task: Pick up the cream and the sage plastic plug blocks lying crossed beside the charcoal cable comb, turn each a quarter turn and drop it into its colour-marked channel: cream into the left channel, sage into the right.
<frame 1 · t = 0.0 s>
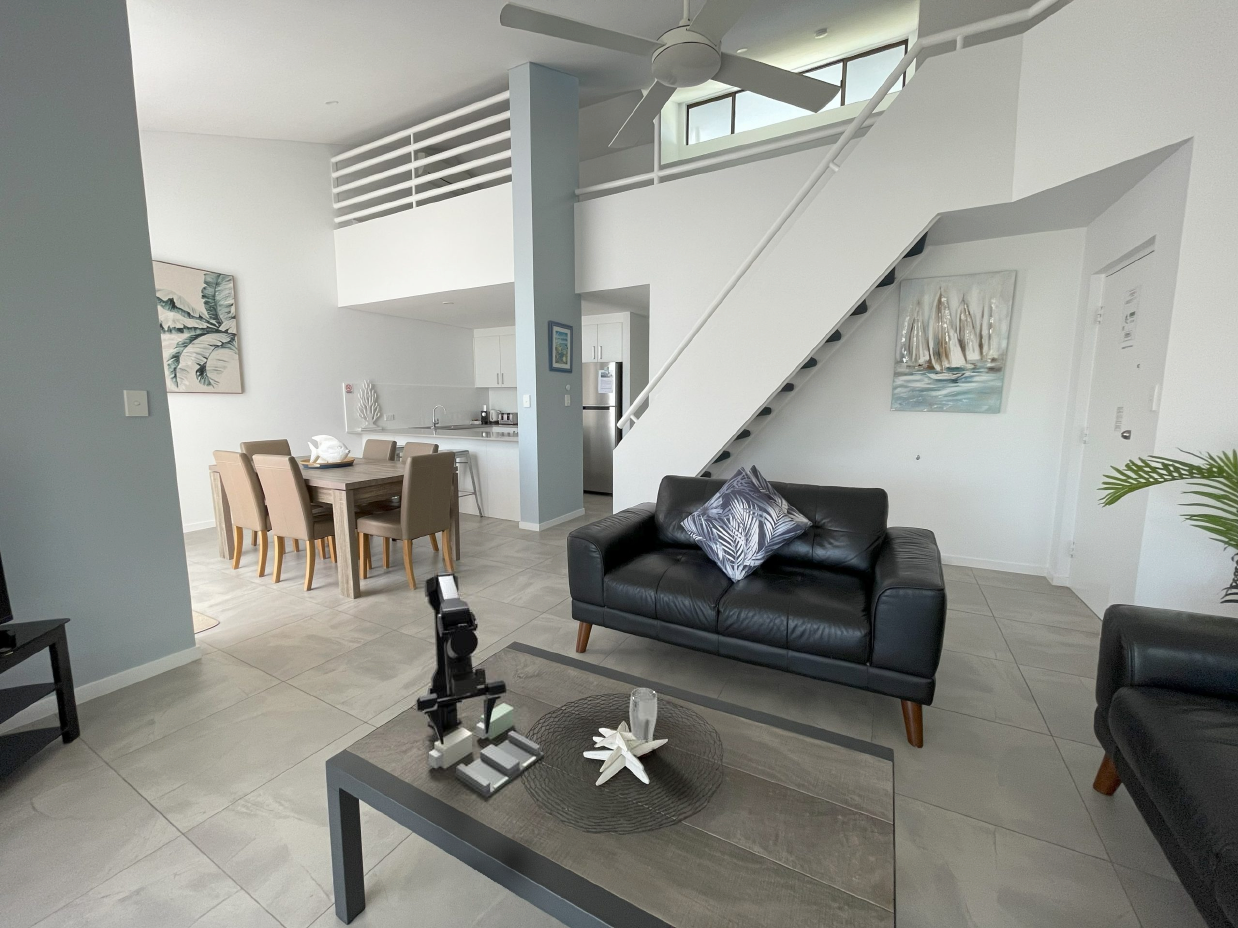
hand: (465, 738, 112), 15 cm above the table, tool tilted 35°, fingers open, 9 cm apart
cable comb: (501, 765, 126), on the table
beer glass: (641, 750, 133), on the table
sage plug: (494, 731, 139), on the table
cream plug: (450, 759, 128), on the table
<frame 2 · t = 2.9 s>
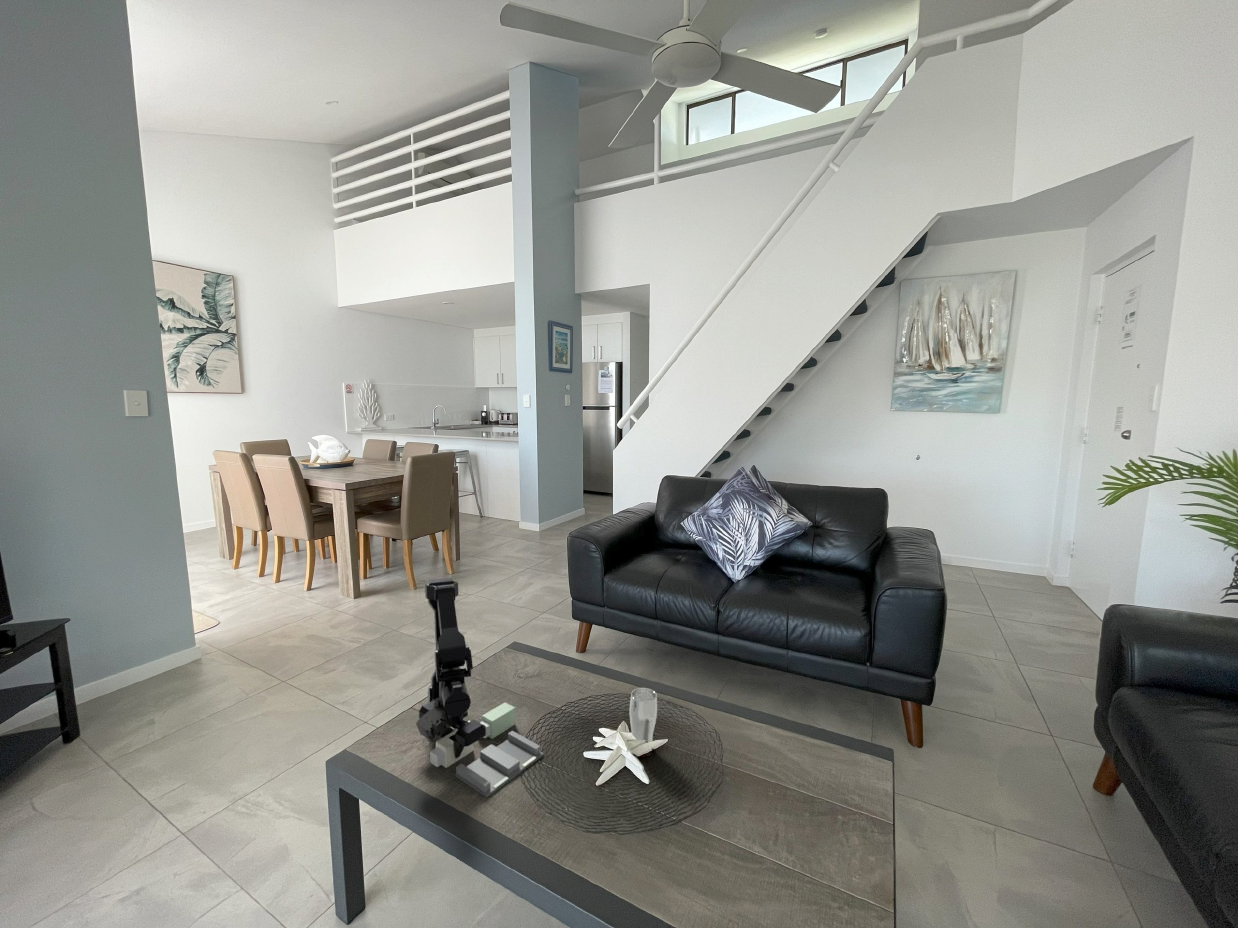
hand: (451, 753, 128), 1 cm above the table, tool pointing down, fingers closed on cream plug, 4 cm apart
cream plug: (451, 757, 128), on the table, touching gripper
everything else where it was.
when the fingers open (3 cm above the table, at t = 7.0 s): cream plug drops 2 cm, resting on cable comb.
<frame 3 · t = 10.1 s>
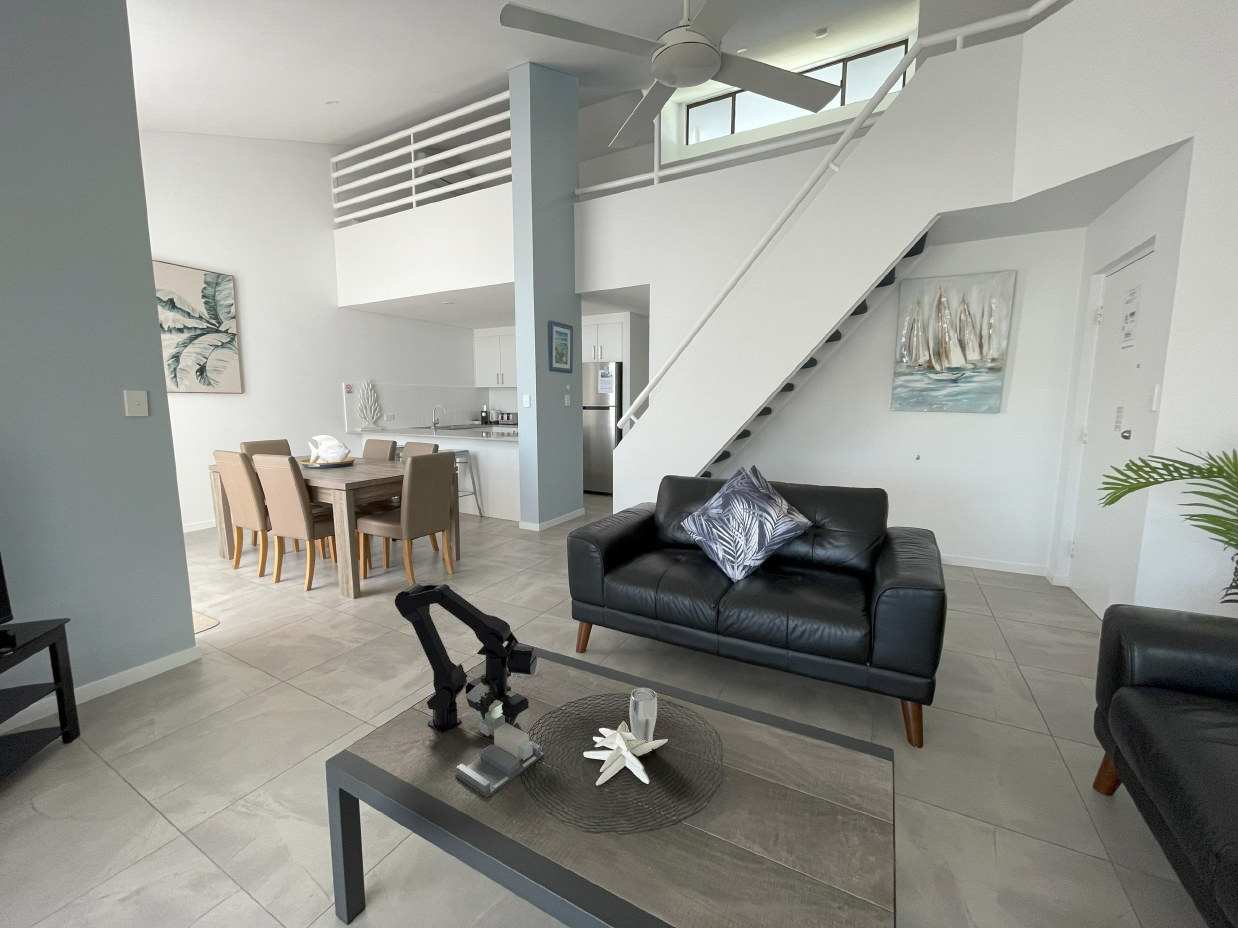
hand: (496, 725, 139), 1 cm above the table, tool pointing down, fingers open, 9 cm apart
sage plug: (498, 728, 140), on the table
cream plug: (513, 752, 130), point 1 cm above the table, touching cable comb, gripper
everything else where it was.
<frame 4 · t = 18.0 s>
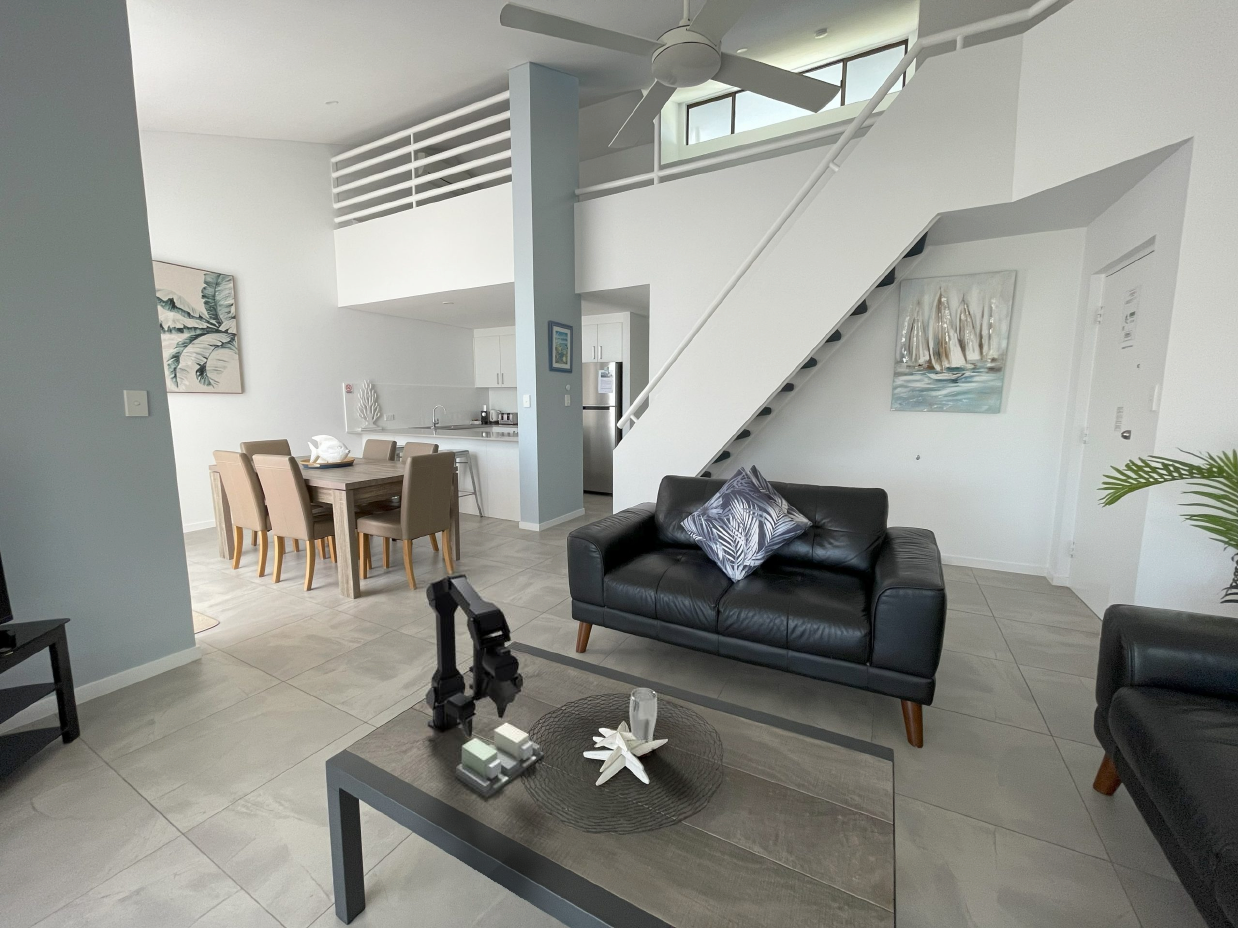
hand: (485, 726, 121), 12 cm above the table, tool pointing down, fingers open, 9 cm apart
sage plug: (482, 770, 123), point 1 cm above the table, touching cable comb
cream plug: (513, 752, 130), point 1 cm above the table, touching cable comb
everything else where it was.
at the end: cream plug 0.1 cm from the target spot on the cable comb, point 0.6 cm above the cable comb's base; sage plug 1.1 cm from the target spot on the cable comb, point 0.6 cm above the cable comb's base; cream plug tilted 0° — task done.
